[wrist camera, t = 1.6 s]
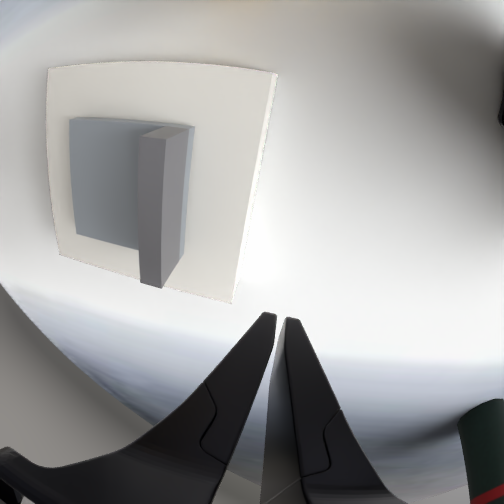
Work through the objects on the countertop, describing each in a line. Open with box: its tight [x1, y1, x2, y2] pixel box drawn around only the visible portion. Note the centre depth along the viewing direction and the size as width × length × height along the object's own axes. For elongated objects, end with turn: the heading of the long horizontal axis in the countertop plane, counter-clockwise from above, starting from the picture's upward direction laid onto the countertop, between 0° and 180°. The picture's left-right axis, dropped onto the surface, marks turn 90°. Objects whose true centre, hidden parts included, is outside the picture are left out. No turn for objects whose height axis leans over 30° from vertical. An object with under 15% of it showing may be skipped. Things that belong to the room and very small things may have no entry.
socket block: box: [46, 61, 278, 304], centre depth 17 cm, size 14×14×3 cm
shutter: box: [69, 117, 195, 289], centre depth 15 cm, size 7×7×3 cm
